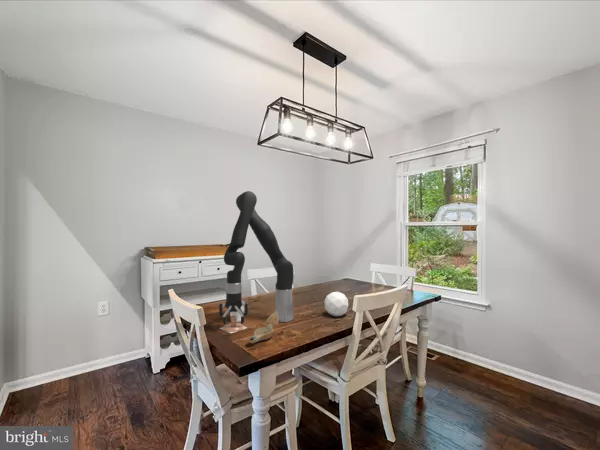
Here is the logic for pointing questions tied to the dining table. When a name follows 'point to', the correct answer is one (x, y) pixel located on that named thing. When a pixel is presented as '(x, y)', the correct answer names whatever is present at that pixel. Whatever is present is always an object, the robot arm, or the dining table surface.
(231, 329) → the lid
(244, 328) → the mat
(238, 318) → the white cup
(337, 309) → the geodesic sphere
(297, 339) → the dining table surface
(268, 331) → the oil lamp
